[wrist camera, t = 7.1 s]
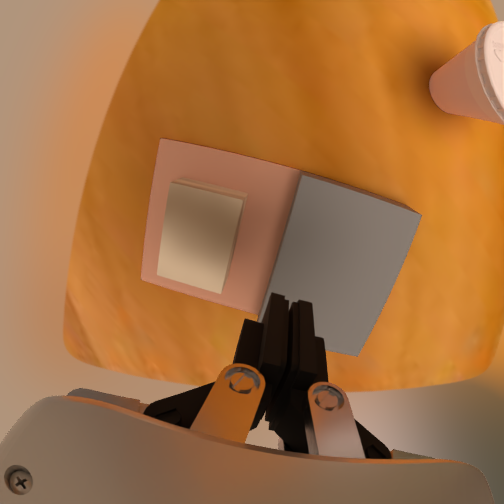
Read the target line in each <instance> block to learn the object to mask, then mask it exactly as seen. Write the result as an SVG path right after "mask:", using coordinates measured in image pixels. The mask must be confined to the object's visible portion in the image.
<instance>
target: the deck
mask: <svg viewBox="0 0 504 504" xmlns="http://www.w3.org/2000/svg"><path fill="white" fill-rule="evenodd" d="M421 216H422V215H421V214H419V213H418V212H416V211H415V210H413V209H412V208H410V207H408V206H407V205H404V204H402V203H399V202H396V201H393V200H391V199H388V198H385V197H382V196H380V195H377V194H374V193H371V192H368V191H365V190H362V189H359V188H356V187H353V186H350V185H347V184H344V183H341V182H338V181H335V180H331V179H328V178H325V177H322V176H318V175H315V174H312V173H308V172H305V171H301V172H300V176H299V179H298V183H297V186H296V190H295V193H294V197H293V200H292V204H291V207H290V211H289V214H288V218H287V221H286V225H285V228H284V232H283V235H282V238H281V242H280V245H279V249H278V252H277V255H276V259H275V262H274V265H273V269H272V272H271V275H270V279H269V282H268V285H267V288H266V292H265V295H264V298H263V301H262V305H261V308H260V311H259V314H258V319H257V322H260V323H261V322H262V319H263V316H264V313H265V310H266V307H267V304H268V301H269V298H270V295H271V292H273V293H277V294H280V295H284V296H285V300H289V309H290V307H291V304H292V302H297V301H298V300H299V299H300V300H304V301H308V302H312V304H313V316H314V328H315V336H317V337H322V338H324V342H325V350H328V351H332V352H337V353H342V354H347V355H352V356H357V357H358V355H359V353H360V351H361V350H362V348H363V346H364V344H365V342H366V340H367V338H368V337H369V335H370V333H371V331H372V329H373V327H374V325H375V323H376V321H377V319H378V317H379V315H380V313H381V311H382V309H383V307H384V305H385V303H386V301H387V299H388V297H389V294H390V292H391V290H392V288H393V286H394V283H395V281H396V279H397V277H398V274H399V272H400V270H401V268H402V265H403V263H404V260H405V258H406V256H407V253H408V251H409V248H410V246H411V243H412V241H413V238H414V235H415V233H416V230H417V227H418V225H419V222H420V219H421Z"/></svg>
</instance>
